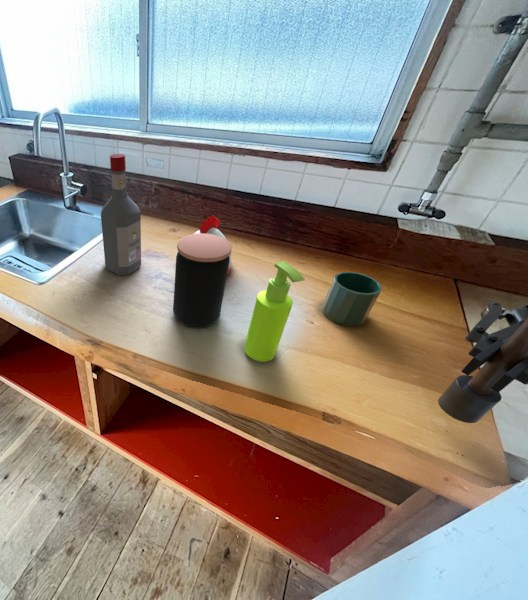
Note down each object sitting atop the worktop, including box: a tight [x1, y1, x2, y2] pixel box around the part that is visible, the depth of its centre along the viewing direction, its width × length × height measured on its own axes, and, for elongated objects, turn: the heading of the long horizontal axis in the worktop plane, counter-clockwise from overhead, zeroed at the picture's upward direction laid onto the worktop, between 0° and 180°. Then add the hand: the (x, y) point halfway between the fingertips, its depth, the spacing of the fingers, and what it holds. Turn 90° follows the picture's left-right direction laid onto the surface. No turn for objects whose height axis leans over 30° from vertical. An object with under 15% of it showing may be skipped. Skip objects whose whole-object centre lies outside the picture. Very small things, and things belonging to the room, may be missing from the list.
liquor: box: [100, 153, 142, 276], centre depth 84 cm, size 9×9×30 cm
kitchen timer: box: [193, 214, 232, 275], centre depth 86 cm, size 14×14×15 cm
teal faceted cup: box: [321, 271, 383, 327], centre depth 70 cm, size 9×9×8 cm
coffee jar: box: [172, 233, 233, 329], centre depth 69 cm, size 11×11×18 cm
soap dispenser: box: [243, 261, 306, 363], centre depth 58 cm, size 6×7×20 cm
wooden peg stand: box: [437, 318, 528, 424], centre depth 43 cm, size 5×5×18 cm
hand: (485, 374), depth 40 cm, fingers closed on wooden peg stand, 2 cm apart
